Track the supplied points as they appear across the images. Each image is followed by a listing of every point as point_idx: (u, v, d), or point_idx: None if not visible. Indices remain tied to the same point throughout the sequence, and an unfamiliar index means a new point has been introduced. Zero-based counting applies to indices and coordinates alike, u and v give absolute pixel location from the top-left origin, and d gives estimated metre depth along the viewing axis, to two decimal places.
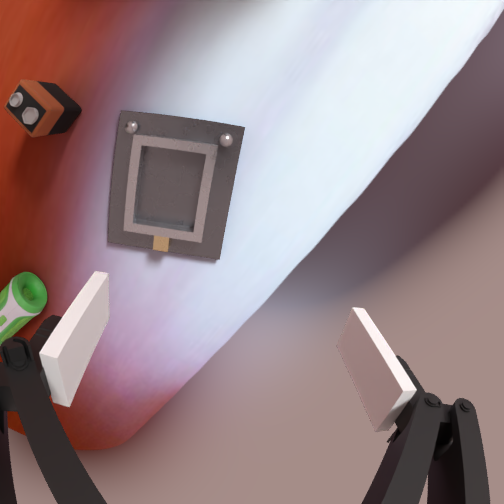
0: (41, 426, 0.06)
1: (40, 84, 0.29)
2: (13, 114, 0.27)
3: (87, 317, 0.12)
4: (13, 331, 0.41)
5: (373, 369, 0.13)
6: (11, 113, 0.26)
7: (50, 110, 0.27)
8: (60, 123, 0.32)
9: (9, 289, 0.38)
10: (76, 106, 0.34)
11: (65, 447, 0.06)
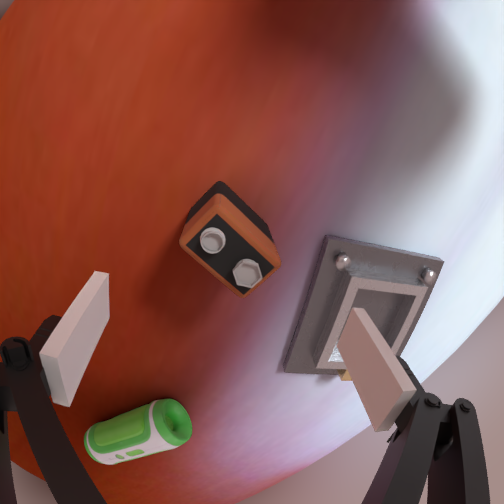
0: (41, 426, 0.06)
1: (230, 201, 0.25)
2: (204, 261, 0.23)
3: (87, 317, 0.12)
4: None
5: (373, 369, 0.13)
6: (199, 259, 0.23)
7: None
8: None
9: (151, 427, 0.35)
10: (266, 226, 0.30)
11: (66, 447, 0.06)
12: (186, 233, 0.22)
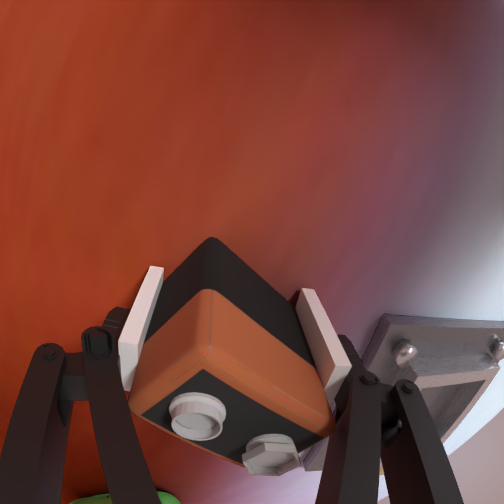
0: (110, 413, 0.08)
1: (233, 303, 0.12)
2: (184, 438, 0.10)
3: (152, 308, 0.14)
4: None
5: (314, 346, 0.15)
6: (174, 434, 0.10)
7: (333, 431, 0.11)
8: None
9: None
10: (295, 315, 0.17)
11: (130, 437, 0.07)
12: (139, 393, 0.09)
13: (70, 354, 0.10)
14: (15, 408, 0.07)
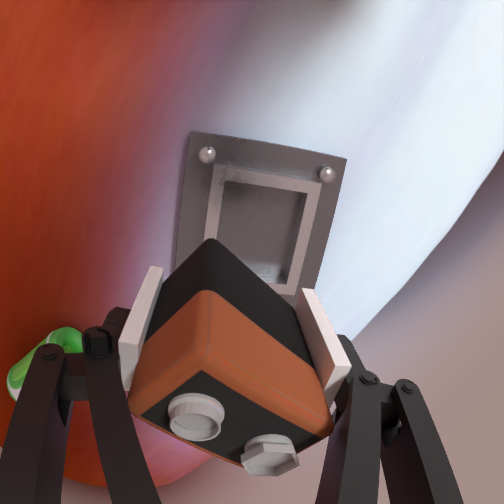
0: (110, 413, 0.08)
1: (232, 304, 0.12)
2: (183, 438, 0.10)
3: (152, 308, 0.14)
4: None
5: (314, 346, 0.15)
6: (173, 435, 0.10)
7: (331, 432, 0.11)
8: None
9: None
10: (294, 316, 0.17)
11: (130, 437, 0.07)
12: (138, 394, 0.09)
13: (70, 354, 0.10)
14: (15, 408, 0.07)
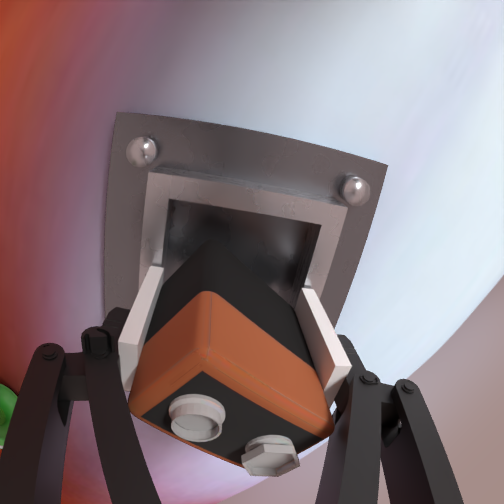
0: (110, 413, 0.08)
1: (233, 305, 0.12)
2: (184, 439, 0.10)
3: (152, 308, 0.14)
4: None
5: (314, 346, 0.15)
6: (174, 435, 0.10)
7: (332, 432, 0.11)
8: None
9: None
10: (295, 316, 0.17)
11: (130, 437, 0.07)
12: (139, 395, 0.09)
13: (70, 354, 0.10)
14: (15, 408, 0.07)
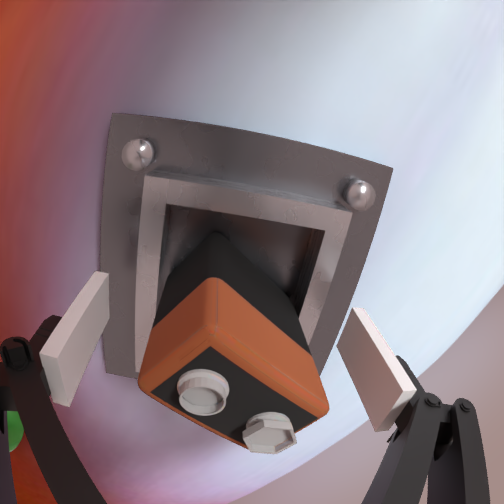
0: (41, 426, 0.06)
1: (236, 291, 0.13)
2: (189, 415, 0.11)
3: (87, 317, 0.12)
4: None
5: (373, 369, 0.13)
6: (179, 412, 0.11)
7: None
8: None
9: None
10: (292, 307, 0.18)
11: (65, 447, 0.06)
12: (150, 371, 0.10)
13: None
14: None
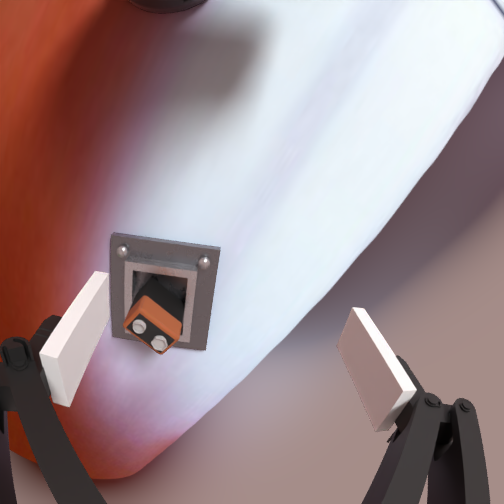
0: (41, 426, 0.06)
1: (152, 299, 0.41)
2: (137, 335, 0.39)
3: (87, 317, 0.12)
4: None
5: (373, 369, 0.13)
6: (134, 334, 0.39)
7: (178, 339, 0.40)
8: None
9: None
10: (182, 306, 0.47)
11: (66, 447, 0.06)
12: (126, 321, 0.38)
13: None
14: None
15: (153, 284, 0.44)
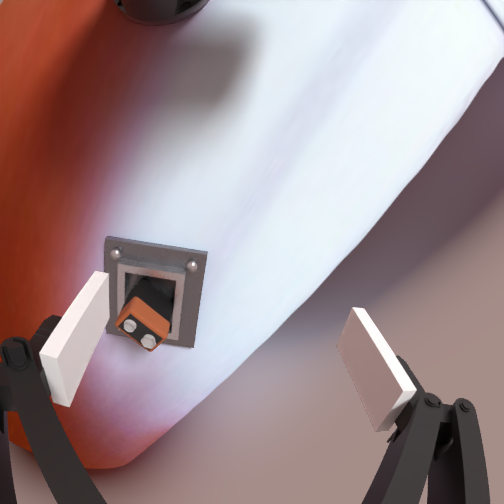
0: (41, 426, 0.06)
1: (142, 300, 0.44)
2: (128, 334, 0.42)
3: (87, 317, 0.12)
4: None
5: (373, 369, 0.13)
6: (125, 333, 0.42)
7: (166, 338, 0.43)
8: None
9: None
10: (171, 306, 0.49)
11: (65, 447, 0.06)
12: (117, 320, 0.41)
13: None
14: None
15: (144, 285, 0.47)
